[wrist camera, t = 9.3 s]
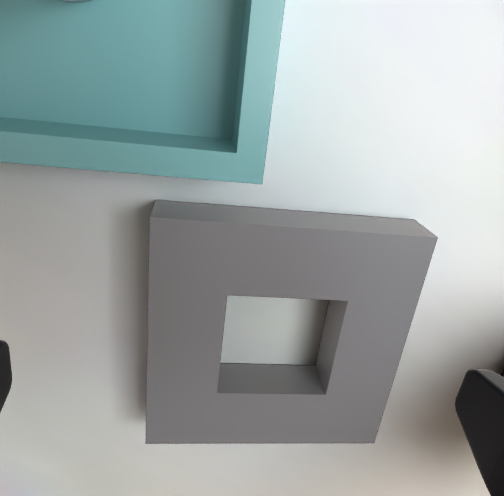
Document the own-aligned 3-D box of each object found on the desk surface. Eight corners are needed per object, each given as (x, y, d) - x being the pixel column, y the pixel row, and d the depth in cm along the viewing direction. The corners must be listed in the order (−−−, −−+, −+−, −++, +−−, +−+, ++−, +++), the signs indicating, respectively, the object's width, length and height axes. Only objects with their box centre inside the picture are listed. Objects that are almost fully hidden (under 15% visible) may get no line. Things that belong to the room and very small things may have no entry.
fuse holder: (414, 219, 20) (437, 237, 18) (360, 412, 25) (374, 443, 23) (155, 199, 18) (149, 216, 16) (150, 410, 23) (145, 443, 21)
